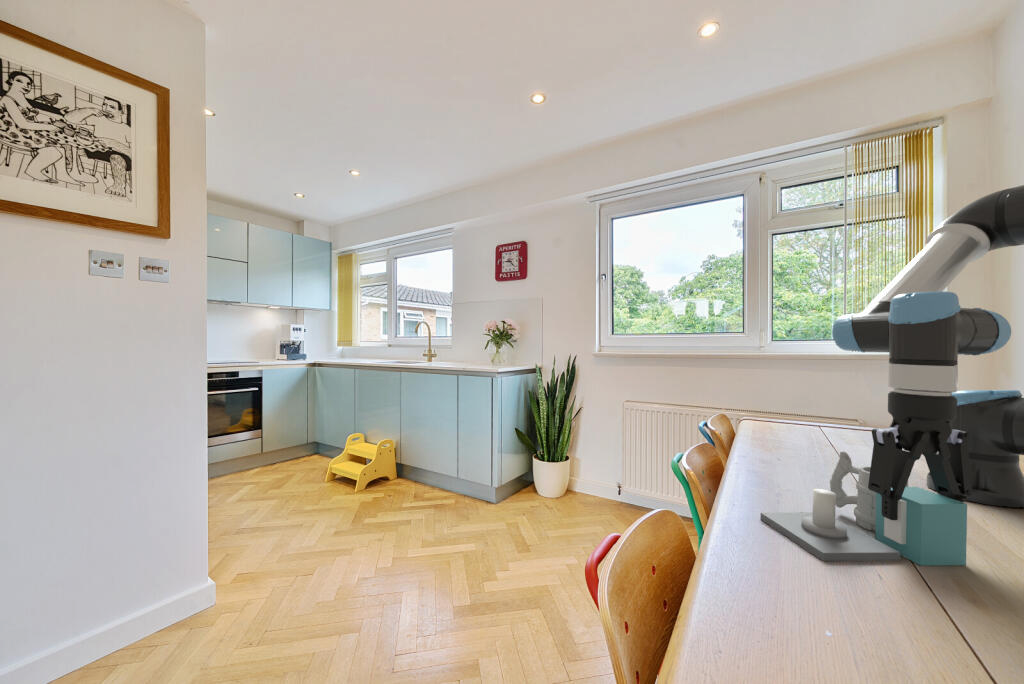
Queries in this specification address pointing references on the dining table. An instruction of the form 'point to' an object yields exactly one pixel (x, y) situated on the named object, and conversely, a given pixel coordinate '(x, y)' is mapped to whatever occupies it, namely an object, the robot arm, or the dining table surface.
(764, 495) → the dining table surface
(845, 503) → the mug
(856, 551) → the post board
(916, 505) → the teal block
